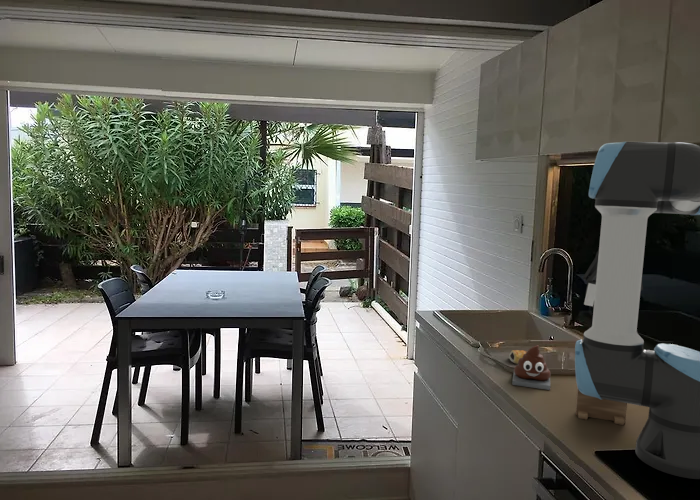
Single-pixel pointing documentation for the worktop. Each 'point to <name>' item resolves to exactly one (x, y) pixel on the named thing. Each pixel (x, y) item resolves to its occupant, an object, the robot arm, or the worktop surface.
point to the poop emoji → (532, 366)
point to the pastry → (516, 355)
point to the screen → (600, 408)
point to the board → (531, 383)
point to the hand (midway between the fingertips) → (605, 309)
